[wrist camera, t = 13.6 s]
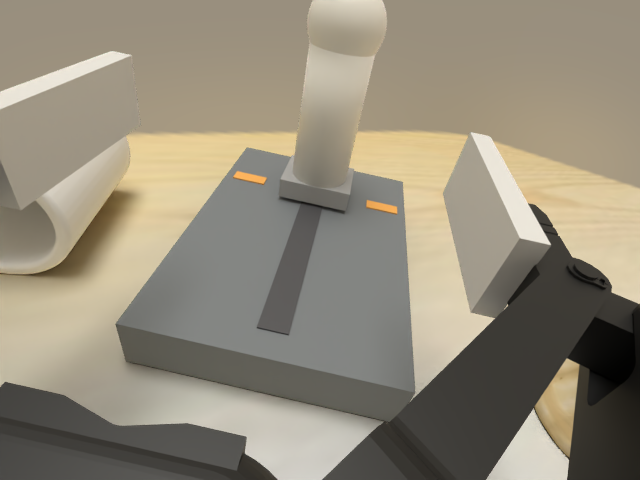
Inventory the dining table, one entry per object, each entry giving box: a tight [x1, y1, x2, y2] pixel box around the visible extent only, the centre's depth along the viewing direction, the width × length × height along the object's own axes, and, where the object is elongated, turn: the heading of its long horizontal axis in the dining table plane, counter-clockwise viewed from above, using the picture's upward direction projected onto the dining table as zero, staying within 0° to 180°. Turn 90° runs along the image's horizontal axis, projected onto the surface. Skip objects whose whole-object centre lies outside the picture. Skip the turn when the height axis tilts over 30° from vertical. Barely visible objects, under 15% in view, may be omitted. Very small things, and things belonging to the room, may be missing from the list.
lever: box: [278, 0, 387, 211], centre depth 24 cm, size 5×5×14 cm
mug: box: [0, 136, 130, 274], centre depth 23 cm, size 12×10×8 cm
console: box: [116, 148, 415, 422], centre depth 26 cm, size 14×20×3 cm
